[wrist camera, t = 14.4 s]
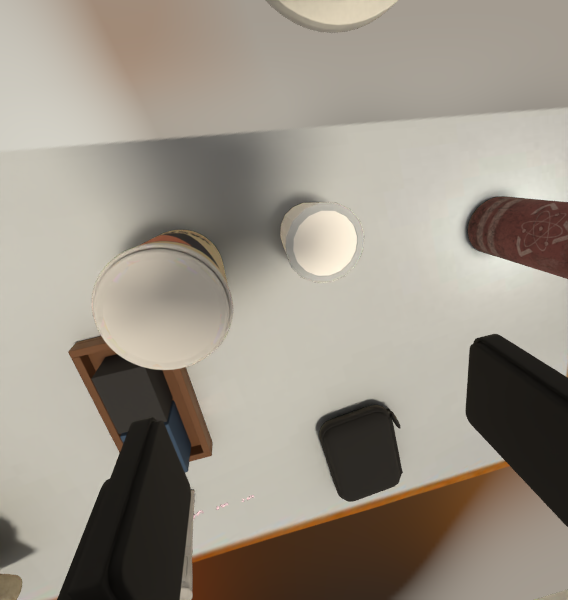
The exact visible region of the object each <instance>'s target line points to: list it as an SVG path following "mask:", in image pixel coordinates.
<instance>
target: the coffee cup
mask: <svg viewBox="0 0 568 600" xmlns="http://www.w3.org/2000/svg"><path fill="white" fill-rule="evenodd" d="M92 312H93V317H94V320H95V324H96V326H97V329H98V331H99V333H100V335H101V337H102V338H103V339H104V341H105V342H106V343H107V345H108V346H109V347H110V348H111V349H112V350H113V351H114V352H115V353H117V354H118V355H119V356H121V357H122V358H124V359H125V360H127V361H129V362H131V363H133V364H136V365H138V366H141V367H145V368H149V369H156V370H174V369H180V368H184V367H188V366H190V365H193V364H195V363H197V362H199V361H201V360H203V359H204V358H206V357H207V356H209V355H210V354H211V353H213V352H214V351H215V350H216V349H217V348H218V347H219V346H220V344H221V343H222V342H223V340H224V339H225V337H226V335H227V333H228V331H229V329H230V326H231V322H232V316H233V302H232V297H231V293H230V290H229V287H228V284H227V279H226V275H225V270H224V266H223V262H222V259H221V256H220V254H219V252H218V250H217V248H216V247H215V246H214V245H213V243H212V242H211V241H209V240H208V239H207V238H206V237H204V236H202V235H201V234H199V233H196V232H193V231H189V230H173V231H169V232H166V233H163V234H161V235H159V236H157V237H155V238H153V239H151V240H149V241H147V242H145V243H143V244H141V245H139V246H137V247H134V248H131V249H129V250H127V251H125V252H122V253H121V254H119V255H118V256H116V257H115V258H114V259H112V260H111V261H110V262H109V263H108V264H107V265H106V266H105V267H104V269H103V270H102V272H101V273H100V275H99V277H98V278H97V280H96V283H95V285H94V289H93V293H92Z"/></svg>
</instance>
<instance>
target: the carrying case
mask: <svg viewBox="0 0 568 600" xmlns="http://www.w3.org/2000/svg"><path fill="white" fill-rule="evenodd" d="M392 420H393V421H392ZM393 422H394V423H395V425H396V426H397V427H398V428H400V424H399V422H398V420H397V418H396V416H395V415H394V413H393V412H392V411H390V409H387V408H384V407H382V406H379V405H372V406H368V407H365V408H362V409H359V410H356V411H353V412H351V413H348V414H345V415H342V416H339V417H336V418H334V419H331V420H328V421H327V422H325V423H324V424H323V426H322V427H321V429H320V432H319V438H320V441H321V444H322V447H323V450H324V453H325V456H326V459H327V462H328V465H329V468H330V471H331V474H332V477H333V481H334V484H335V487H336V490H337V493H338V495H339V496H340V497H341V498H342V499H344V500H346V501H349V502H351V501H356V500H359V499H361V498H364V497H367V496H370V495H372V494H375V493H378V492H381V491H383V490H386V489H389V488H391V487H394V486H395V485H397V484H398V483H399V480H400V477H401V474H402V473H403V472H402V468H401V463H400V457H399V452H398V447H397V442H396V437H395V431H394V426H393Z"/></svg>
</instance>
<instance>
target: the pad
mask: <svg viewBox="0 0 568 600" xmlns="http://www.w3.org/2000/svg"><path fill="white" fill-rule="evenodd" d="M91 379H92V381H93V383H94V385H95V387H96V389H97V391H98V393H99V395H100V397H101V399H102V401H103V403H104V406H105V408H106V410H107V412H108V414H109V416H110V418H111V420H112V422H113V424H114V426H115V428H116V430H117V432H118V434H121V433H125V432H128V430H129V427H130V425H131V423H132V422H134V421H139V420H143V419H147V418H151V417H154V418H155V419H156V420H157V421H163V422H167V420H168V416H169V411H170V407H171V403H172V399H173V397H172V394H171V392H170V389H169V386H168V384H167V381H166V379H165V376H164V374H163V371H162V370H156V369H149V368H145V367H141V366H138V365H136V364H133V363H131V362H129V361H127V360H125V359H124V358H122V357H121V356H119V355H118V354H116V355H112V356H108V357H105V358H104V360H103V362H102V363H101V365H100V366H99V368H98V369H97V371H96V372H95V374H94V375H93V377H92V378H91Z"/></svg>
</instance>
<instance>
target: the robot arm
mask: <svg viewBox="0 0 568 600" xmlns="http://www.w3.org/2000/svg"><path fill="white" fill-rule="evenodd" d="M466 416H467V419H468V421H469V422H470V424H471V425H472V426H473V427H474V428H475V429H476V430H477V431H478V432H479V433H480V434H481V435H482V436H483V438H484V439H485V440H486V441H487V442H488V443H489V444H490V445H491V446H492V447H493V448H494V449H495V450H496V451H497V452H498V454H499V455H500V456H501V457H502V458H503V459H504V460H505V461H506V462H507V463H508V464H509V465H510V466H511V467H512V468H513V470H514V471H515V472H516V473H517V474H518V475H519V476H520V477H521V478H522V479H523V480H524V481H525V482H526V483H527V484H528V485H529V486H530V487H531V489H532V490H533V491H534V492H535V493H536V494H537V495H538V496H539V497H540V498H541V499H542V500H543V501H544V503H546V505H547V506H548V507H549V508H550V509H551V510H552V511H553V512H554V513H555V514H556V515H557V516H558V517H559V518H560V519H561V521H562V522H563V523H564V524H565V525H566V526H567V527H568V378H567V377H566V376H564V375H563V374H561V373H559V372H558V371H556V370H555V369H553V368H551V367H550V366H548V365H547V364H545V363H543V362H542V361H540V360H539V359H537V358H535V357H534V356H532V355H531V354H529V353H527V352H526V351H524V350H523V349H521V348H519V347H518V346H516V345H515V344H513V343H511V342H510V341H508V340H507V339H505V338H503V337H502V336H500V335H498V334H492V335H488V336H484V337H480V338H477V339H475V341H474V343H473V344H472V345H471V346H470V352H469V368H468V383H467V398H466ZM190 502H191V489H190V484H189V482H188V479H187V477H186V475H185V472H184V470H183V467H182V465H181V463H180V460H179V458H178V455H177V453H176V451H175V448H174V446H173V443H172V441H171V439H170V436H169V434H168V431H167V429H166V427H165V424H164V422H163V421H157V420H156V419H155V418H154V417H151V418H147V419H143V420H139V421H134V422H132V423H131V425H130V427H129V430H128V433H127V435H126V438H125V441H124V443H123V446H122V449H121V451H120V454H119V457H118V459H117V462H116V465H115V467H114V470H113V473H112V475H111V478H110V479H108V480H107V481H106V482H105V483H104V484H103V486H102V488H101V490H100V492H99V495H98V497H97V500H96V502H95V505H94V507H93V510H92V513H91V515H90V518H89V520H88V523H87V525H86V528H85V530H84V533H83V535H82V538H81V540H80V543H79V546H78V548H77V551H76V553H75V556H74V558H73V561H72V563H71V566H70V568H69V571H68V574H67V576H66V579H65V581H64V584H63V586H62V589H61V591H60V594H59V596H58V599H57V600H180V592H181V583H182V574H183V565H184V556H185V547H186V538H187V529H188V520H189V511H190ZM535 600H568V589H567V590H565V591H561V592H558V593H555V594H551V595H548V596H545V597H541V598H538V599H535Z"/></svg>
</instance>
